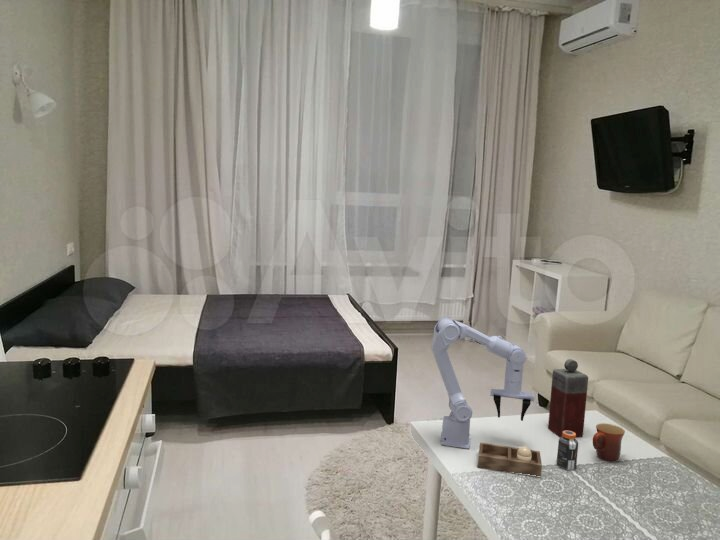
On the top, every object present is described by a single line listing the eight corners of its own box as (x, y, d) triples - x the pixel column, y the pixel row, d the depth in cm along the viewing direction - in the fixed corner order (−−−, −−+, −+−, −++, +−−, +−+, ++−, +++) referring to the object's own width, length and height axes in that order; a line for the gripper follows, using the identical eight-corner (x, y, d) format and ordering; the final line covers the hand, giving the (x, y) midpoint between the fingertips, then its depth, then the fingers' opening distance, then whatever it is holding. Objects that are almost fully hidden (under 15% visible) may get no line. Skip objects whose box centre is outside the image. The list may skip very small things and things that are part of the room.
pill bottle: (577, 471, 167) (581, 437, 165) (558, 469, 168) (561, 435, 167) (574, 462, 173) (577, 429, 171) (555, 460, 174) (557, 427, 172)
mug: (604, 450, 183) (607, 421, 182) (627, 461, 175) (630, 431, 174) (580, 456, 178) (583, 427, 176) (603, 468, 170) (606, 437, 169)
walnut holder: (477, 467, 167) (478, 455, 166) (479, 453, 176) (479, 442, 176) (540, 477, 162) (541, 465, 161) (538, 463, 172) (539, 451, 171)
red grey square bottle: (564, 424, 204) (570, 354, 201) (583, 437, 193) (590, 362, 190) (544, 426, 202) (550, 354, 199) (561, 438, 191) (568, 363, 188)
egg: (516, 466, 166) (517, 448, 166) (516, 460, 171) (517, 443, 170) (531, 468, 165) (532, 451, 165) (530, 462, 169) (531, 445, 169)
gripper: (534, 379, 184) (531, 416, 186) (492, 374, 188) (489, 410, 189) (535, 385, 177) (532, 424, 179) (491, 380, 181) (488, 418, 183)
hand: (510, 418), depth 184 cm, fingers open, 7 cm apart
